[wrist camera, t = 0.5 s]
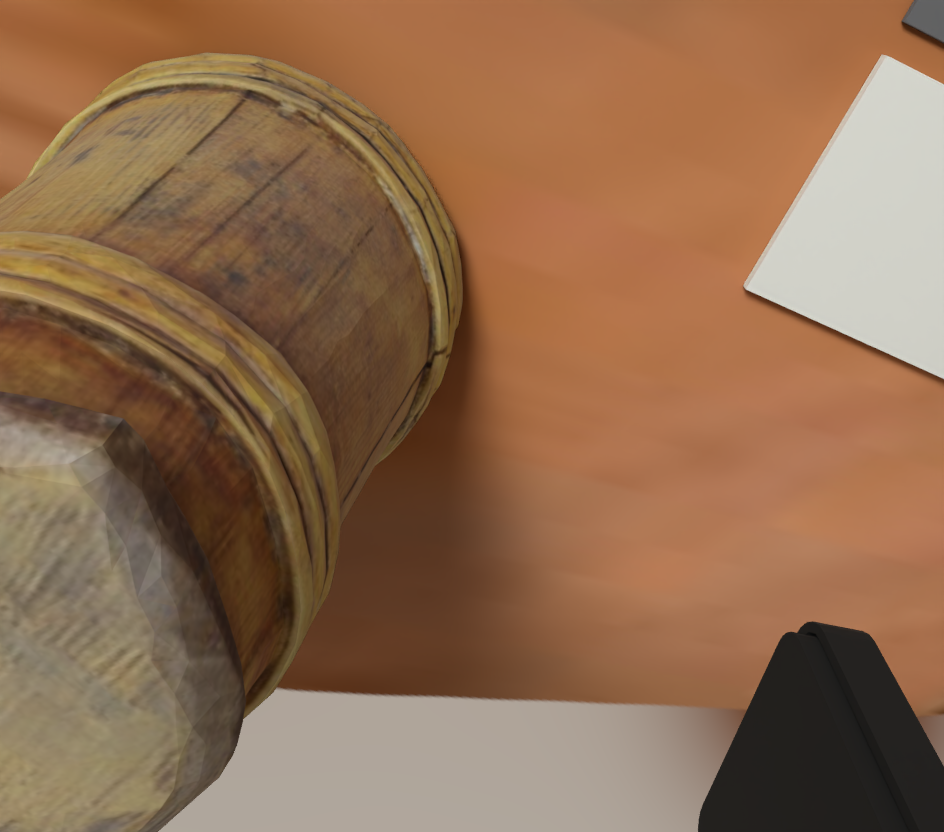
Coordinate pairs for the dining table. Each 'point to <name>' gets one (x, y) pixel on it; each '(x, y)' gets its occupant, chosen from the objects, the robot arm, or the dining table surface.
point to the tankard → (193, 415)
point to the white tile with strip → (873, 217)
